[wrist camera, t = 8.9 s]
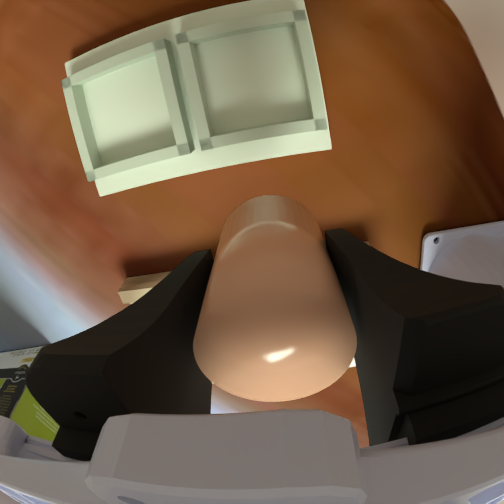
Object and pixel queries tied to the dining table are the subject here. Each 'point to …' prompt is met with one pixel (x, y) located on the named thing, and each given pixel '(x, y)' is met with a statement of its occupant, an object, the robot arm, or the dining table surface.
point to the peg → (273, 306)
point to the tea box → (23, 395)
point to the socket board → (198, 95)
